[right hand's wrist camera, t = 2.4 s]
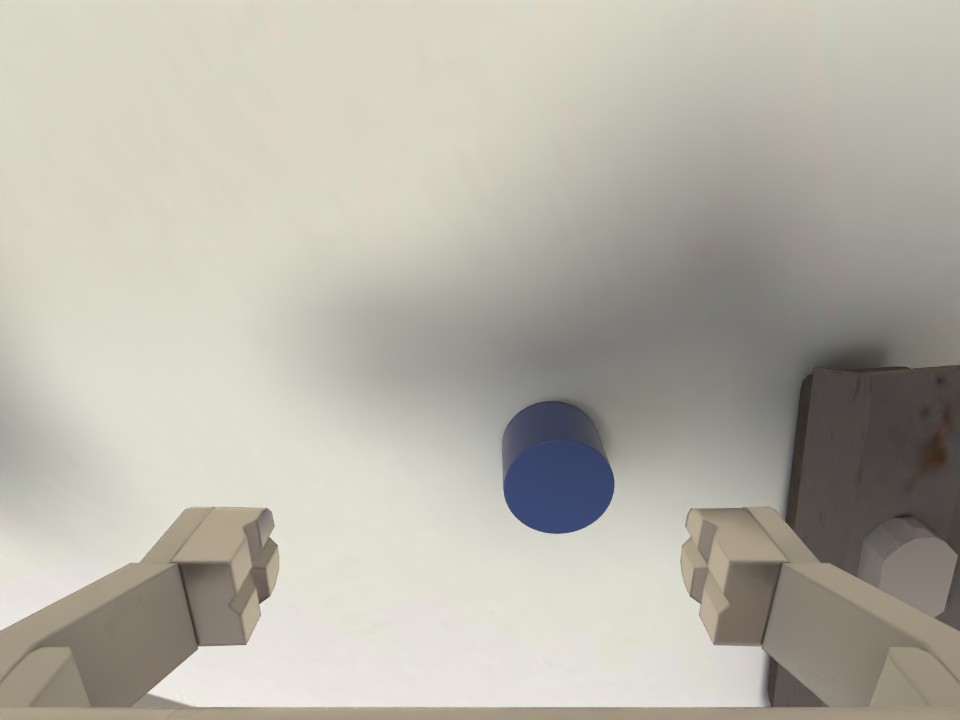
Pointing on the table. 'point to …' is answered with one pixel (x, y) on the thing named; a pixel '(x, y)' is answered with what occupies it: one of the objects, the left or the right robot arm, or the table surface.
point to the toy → (879, 489)
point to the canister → (555, 469)
